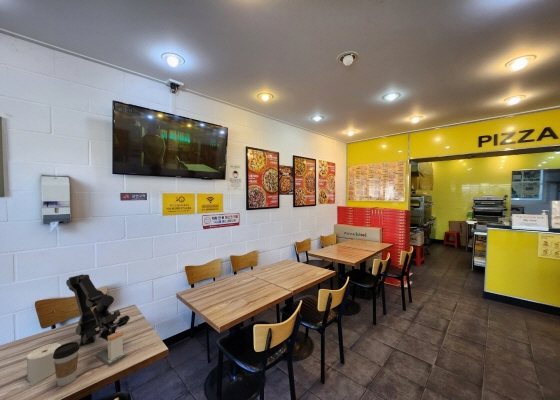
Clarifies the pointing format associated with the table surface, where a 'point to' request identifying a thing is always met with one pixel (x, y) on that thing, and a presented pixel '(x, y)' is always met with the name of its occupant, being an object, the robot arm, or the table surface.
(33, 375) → the toilet tissue
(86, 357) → the table surface
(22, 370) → the table surface
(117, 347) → the cream box
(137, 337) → the table surface
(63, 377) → the coffee cup
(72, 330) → the table surface
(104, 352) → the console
